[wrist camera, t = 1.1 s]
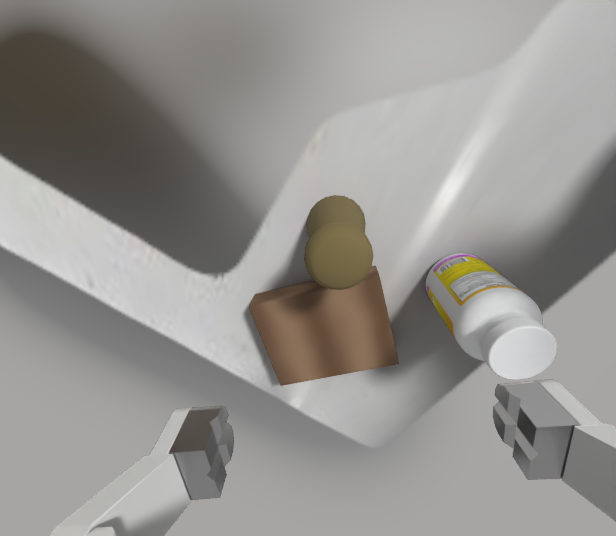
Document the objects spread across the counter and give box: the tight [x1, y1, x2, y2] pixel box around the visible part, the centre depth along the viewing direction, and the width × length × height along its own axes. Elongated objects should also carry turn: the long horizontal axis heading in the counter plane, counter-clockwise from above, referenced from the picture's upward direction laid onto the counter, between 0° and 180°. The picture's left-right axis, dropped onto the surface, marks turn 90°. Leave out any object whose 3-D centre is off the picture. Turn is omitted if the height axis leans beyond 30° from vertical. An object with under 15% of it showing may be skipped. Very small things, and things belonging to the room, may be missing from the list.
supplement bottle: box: [426, 253, 557, 380], centre depth 28 cm, size 7×7×13 cm
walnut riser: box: [249, 266, 399, 386], centre depth 36 cm, size 14×11×3 cm
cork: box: [304, 195, 373, 290], centre depth 28 cm, size 6×6×11 cm
